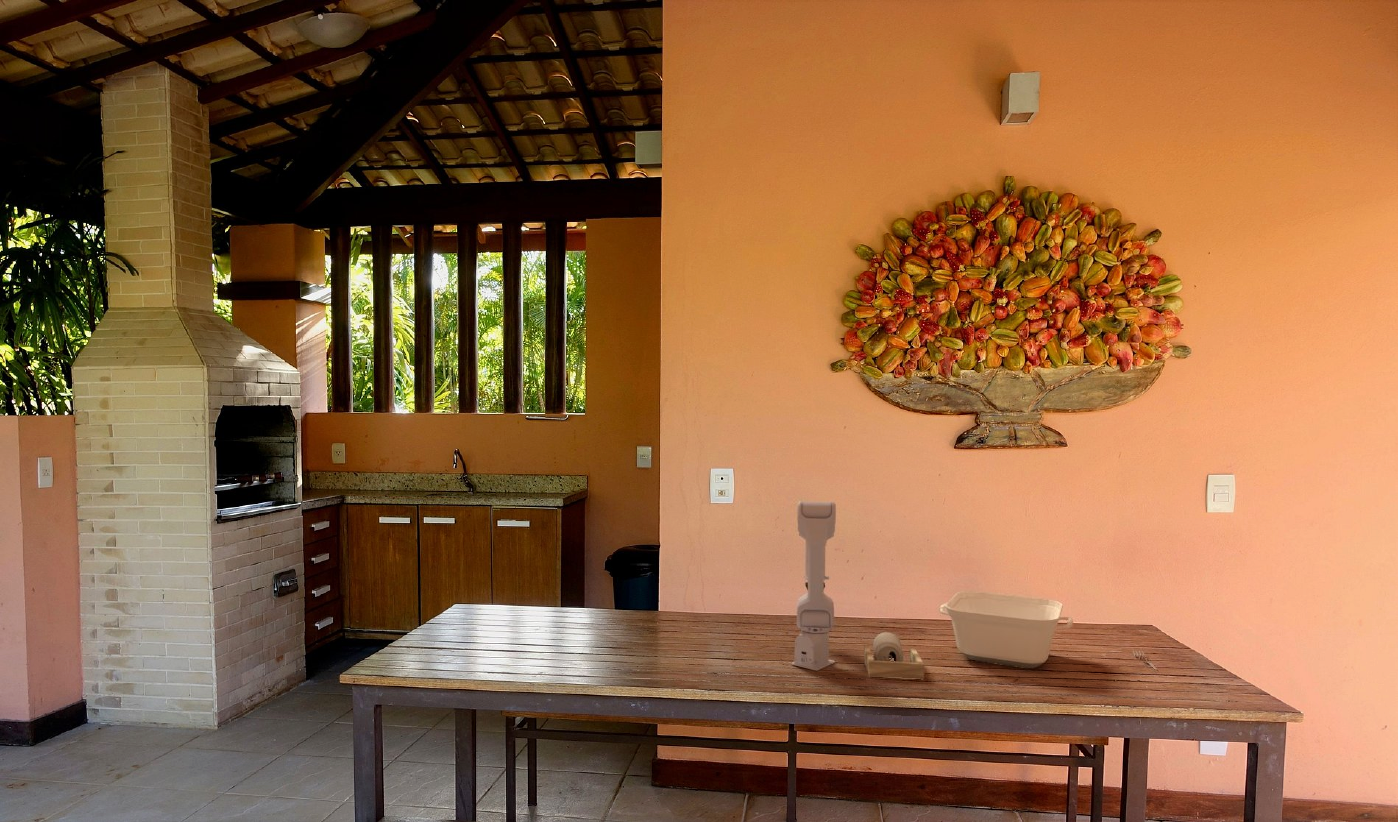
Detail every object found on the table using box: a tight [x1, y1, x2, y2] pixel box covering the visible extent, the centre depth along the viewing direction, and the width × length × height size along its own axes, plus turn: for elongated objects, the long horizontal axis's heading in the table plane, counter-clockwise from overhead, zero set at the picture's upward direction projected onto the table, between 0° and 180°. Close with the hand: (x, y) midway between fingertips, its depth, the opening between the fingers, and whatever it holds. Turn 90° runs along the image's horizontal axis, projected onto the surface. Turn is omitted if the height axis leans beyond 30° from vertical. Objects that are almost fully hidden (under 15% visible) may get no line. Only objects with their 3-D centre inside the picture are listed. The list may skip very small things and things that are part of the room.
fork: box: [1132, 649, 1158, 670], centre depth 207 cm, size 3×24×2 cm, turn 168°
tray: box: [863, 645, 925, 680], centre depth 203 cm, size 14×13×4 cm
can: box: [872, 631, 904, 662], centre depth 207 cm, size 8×8×12 cm
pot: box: [939, 590, 1074, 669], centre depth 215 cm, size 34×29×15 cm
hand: (814, 607), depth 226 cm, fingers closed
